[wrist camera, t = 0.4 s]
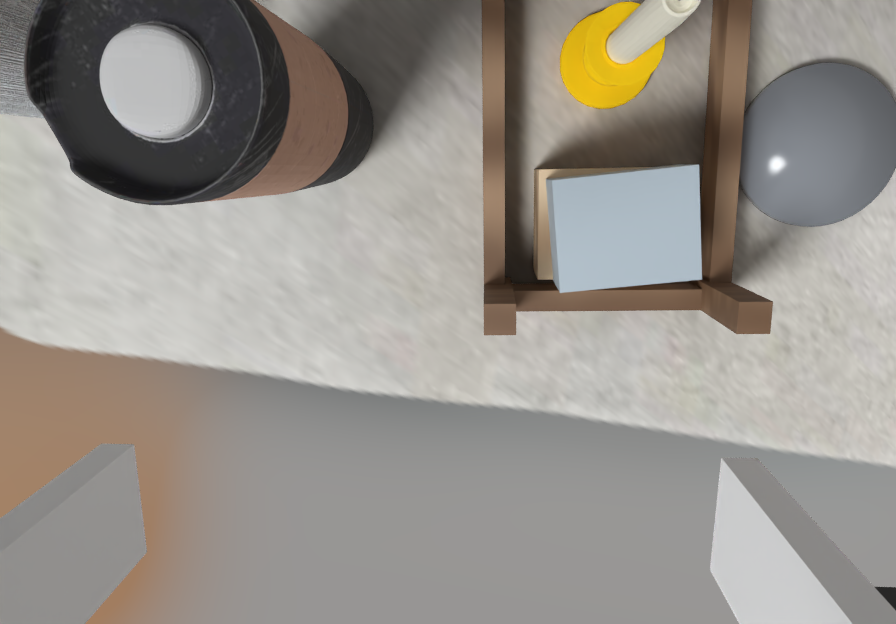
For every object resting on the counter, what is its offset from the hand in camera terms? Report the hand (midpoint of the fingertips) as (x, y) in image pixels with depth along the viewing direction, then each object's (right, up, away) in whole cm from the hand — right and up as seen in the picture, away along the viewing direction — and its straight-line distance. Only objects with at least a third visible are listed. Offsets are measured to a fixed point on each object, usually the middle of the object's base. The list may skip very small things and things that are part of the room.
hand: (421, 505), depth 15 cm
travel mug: (-7, +16, +24) cm, 30 cm away
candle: (+10, +19, +23) cm, 31 cm away
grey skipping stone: (+22, +14, +23) cm, 34 cm away
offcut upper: (+10, +9, +21) cm, 25 cm away
